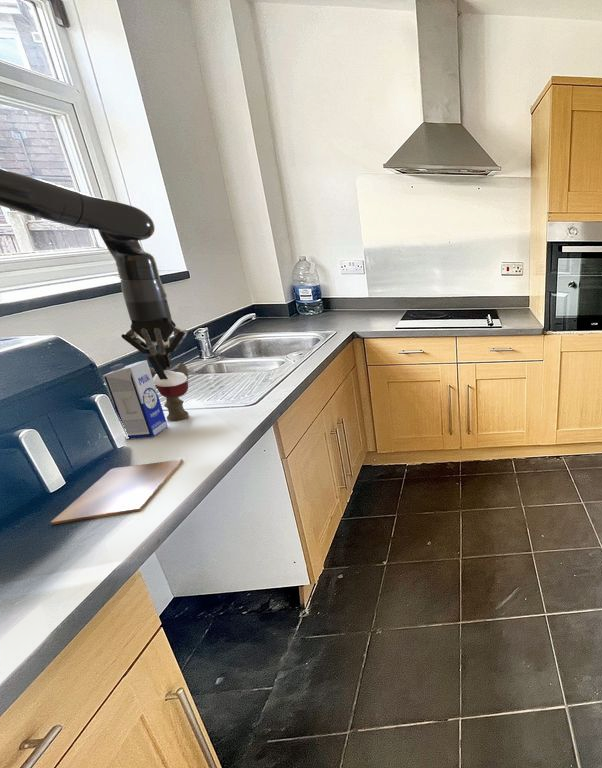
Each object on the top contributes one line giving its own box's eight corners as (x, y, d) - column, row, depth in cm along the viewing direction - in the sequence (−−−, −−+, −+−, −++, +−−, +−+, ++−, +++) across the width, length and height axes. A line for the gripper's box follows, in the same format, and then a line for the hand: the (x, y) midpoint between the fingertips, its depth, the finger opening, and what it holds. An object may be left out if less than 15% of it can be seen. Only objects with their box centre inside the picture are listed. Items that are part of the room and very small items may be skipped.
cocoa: (180, 389, 110) (169, 345, 106) (200, 391, 109) (189, 346, 105) (144, 402, 101) (130, 354, 97) (165, 404, 100) (152, 356, 96)
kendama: (193, 420, 122) (174, 354, 115) (154, 424, 120) (132, 357, 113) (200, 412, 128) (183, 349, 121) (163, 416, 125) (143, 352, 118)
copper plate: (51, 524, 78) (50, 522, 78) (112, 470, 96) (111, 468, 96) (140, 511, 82) (139, 508, 82) (183, 461, 100) (182, 459, 100)
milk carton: (153, 437, 112) (130, 366, 105) (124, 439, 110) (98, 368, 104) (168, 426, 118) (147, 359, 111) (141, 428, 117) (118, 360, 110)
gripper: (101, 301, 92) (124, 375, 98) (172, 299, 96) (190, 371, 101) (119, 297, 99) (140, 367, 104) (185, 295, 103) (202, 363, 108)
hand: (165, 369), depth 103 cm, fingers closed
